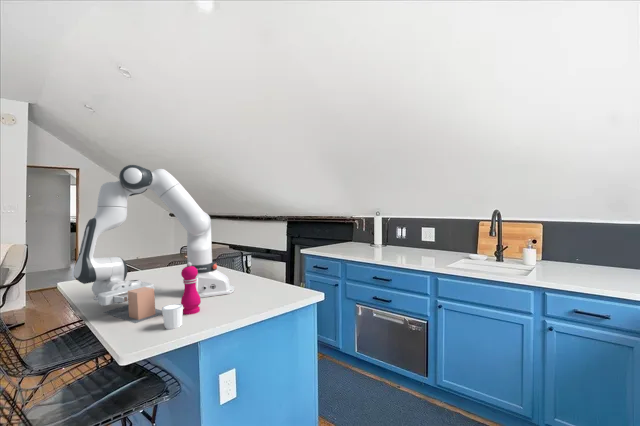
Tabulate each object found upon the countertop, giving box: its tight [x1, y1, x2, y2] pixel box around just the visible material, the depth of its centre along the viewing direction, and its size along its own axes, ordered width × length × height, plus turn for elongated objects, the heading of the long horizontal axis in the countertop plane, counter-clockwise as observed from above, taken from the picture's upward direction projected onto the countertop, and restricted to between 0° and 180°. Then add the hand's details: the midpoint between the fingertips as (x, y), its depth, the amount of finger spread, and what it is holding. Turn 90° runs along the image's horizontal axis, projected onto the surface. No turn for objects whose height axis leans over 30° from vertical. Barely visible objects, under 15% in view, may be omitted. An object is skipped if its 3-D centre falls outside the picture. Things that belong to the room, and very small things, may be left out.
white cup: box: [161, 303, 184, 330], centre depth 118 cm, size 7×7×7 cm
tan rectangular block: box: [127, 287, 156, 320], centre depth 128 cm, size 7×7×10 cm
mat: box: [103, 304, 163, 324], centre depth 133 cm, size 24×13×1 cm, turn 57°
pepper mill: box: [180, 261, 202, 316], centre depth 131 cm, size 7×7×20 cm
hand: (137, 296), depth 129 cm, fingers open, 8 cm apart
